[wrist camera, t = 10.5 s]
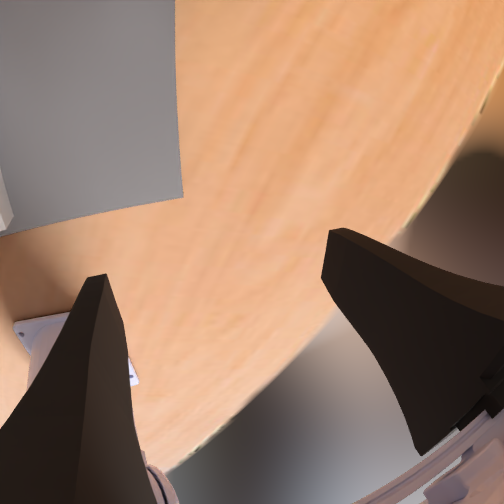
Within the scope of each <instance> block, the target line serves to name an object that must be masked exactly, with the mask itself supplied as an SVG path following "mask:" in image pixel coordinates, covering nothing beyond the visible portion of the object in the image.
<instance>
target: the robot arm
mask: <svg viewBox="0 0 504 504" xmlns="http://www.w3.org/2000/svg"><path fill="white" fill-rule="evenodd" d="M321 279H322V281H323V283H324V285H325V286H326V288H327V290H328V292H329V294H330V295H331V297H332V299H333V300H334V302H335V303H336V305H337V306H338V307H339V309H340V310H341V311H342V313H343V314H344V315H345V317H346V318H347V319H348V320H349V322H350V323H351V325H352V326H353V327H354V329H355V330H356V331H357V333H358V334H359V335H360V336H361V338H362V339H363V341H364V342H365V343H366V345H367V346H368V347H369V349H370V350H371V352H372V353H373V355H374V356H375V358H376V360H377V361H378V363H379V365H380V367H381V369H382V370H383V372H384V374H385V376H386V378H387V380H388V382H389V383H390V386H391V387H392V390H393V392H394V394H395V396H396V398H397V400H398V403H399V405H400V407H401V409H402V412H403V414H404V416H405V419H406V422H407V425H408V427H409V430H410V433H411V436H412V439H413V443H414V446H415V449H416V450H417V451H418V453H419V454H420V456H423V455H424V454H426V453H427V452H429V451H430V450H431V449H433V448H434V447H435V446H437V445H438V444H439V443H441V442H442V441H443V440H444V439H446V438H447V437H448V436H450V435H451V434H452V433H453V432H454V431H455V430H457V429H459V431H460V432H459V433H458V434H457V435H456V436H454V437H453V438H452V439H451V440H449V441H448V442H447V443H446V444H444V445H443V446H442V447H441V448H439V449H438V450H437V451H435V452H434V453H433V454H431V455H430V456H429V457H427V458H426V459H424V460H423V461H422V462H420V463H419V464H417V465H416V466H414V467H413V468H412V469H410V470H408V471H407V472H405V473H404V474H403V475H401V476H399V477H398V478H396V479H395V480H393V481H391V482H390V483H388V484H386V485H385V486H383V487H381V488H380V489H378V490H376V491H375V492H373V493H371V494H369V495H367V496H366V497H364V498H362V499H360V500H358V501H356V502H354V503H353V504H396V503H398V502H399V501H401V500H402V499H404V498H405V497H407V496H408V495H410V494H411V493H413V492H414V491H416V490H417V489H419V488H420V487H421V486H423V485H424V484H425V483H427V482H428V481H430V480H431V479H432V478H433V477H435V476H436V475H437V474H439V473H440V472H441V471H442V470H444V469H445V468H446V467H447V466H449V465H450V464H451V463H452V462H453V461H455V460H456V459H457V458H458V457H459V456H461V455H462V456H461V457H462V460H461V462H460V463H459V464H458V465H456V466H455V467H453V468H452V469H450V470H449V471H448V472H446V473H445V474H443V475H442V476H441V477H439V478H438V479H437V480H435V481H434V482H433V483H432V484H431V485H430V486H429V487H428V488H426V489H425V490H424V492H423V494H424V495H425V497H426V498H427V499H426V500H424V501H423V502H421V503H420V504H504V287H503V286H499V285H494V284H489V283H485V282H481V281H477V280H474V279H470V278H466V277H463V276H460V275H456V274H453V273H451V272H448V271H445V270H442V269H440V268H437V267H434V266H432V265H429V264H427V263H425V262H422V261H420V260H418V259H415V258H413V257H411V256H408V255H406V254H404V253H402V252H399V251H397V250H395V249H393V248H391V247H389V246H387V245H385V244H382V243H380V242H378V241H376V240H374V239H371V238H369V237H367V236H365V235H362V234H360V233H358V232H355V231H352V230H350V229H347V228H339V229H333V230H329V234H328V240H327V246H326V252H325V258H324V263H323V269H322V275H321ZM13 330H14V332H15V333H16V335H17V337H18V338H19V340H20V341H21V343H22V344H23V346H24V347H25V349H26V350H27V352H28V353H29V355H30V356H31V357H30V364H29V373H28V382H27V392H26V393H25V395H24V396H23V397H22V399H21V400H20V402H19V403H18V405H17V406H16V408H15V409H14V411H13V412H12V414H11V415H10V417H9V418H8V419H7V421H6V422H5V423H4V425H3V426H2V427H1V429H0V504H179V501H178V498H177V496H176V493H175V491H174V489H173V487H172V485H171V483H170V482H169V481H168V479H167V478H166V476H165V475H164V474H163V473H162V472H161V471H160V470H159V469H158V468H157V467H155V466H152V465H147V461H146V457H145V452H144V451H142V450H140V446H139V442H138V436H137V431H136V426H135V420H134V414H133V408H132V400H131V388H130V386H134V385H137V384H139V378H138V376H137V374H136V372H135V369H134V367H133V365H132V363H131V361H130V358H129V356H128V349H127V343H126V337H125V330H124V324H123V320H122V318H121V315H120V312H119V309H118V307H117V304H116V301H115V298H114V295H113V292H112V289H111V286H110V283H109V280H108V277H107V274H102V275H97V276H92V277H87V279H86V281H85V282H84V284H83V286H82V288H81V290H80V292H79V295H78V297H77V299H76V301H75V303H74V305H73V307H72V309H71V311H70V312H67V313H61V314H56V315H50V316H45V317H39V318H34V319H28V320H23V321H17V322H15V323H14V324H13ZM21 332H22V333H21Z"/></svg>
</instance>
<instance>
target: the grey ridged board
mask: <svg viewBox="0 0 504 504" xmlns="http://www.w3.org/2000/svg"><path fill="white" fill-rule="evenodd" d="M178 198H183V187H182V176H181V163H180V149H179V134H178V117H177V96H176V68H175V0H0V237H2V236H5V235H9V234H13V233H17V232H21V231H24V230H28V229H32V228H36V227H40V226H45V225H49V224H53V223H57V222H62V221H66V220H70V219H75V218H79V217H84V216H89V215H93V214H98V213H103V212H108V211H113V210H118V209H123V208H128V207H133V206H138V205H144V204H149V203H155V202H160V201H166V200H172V199H178Z"/></svg>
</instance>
